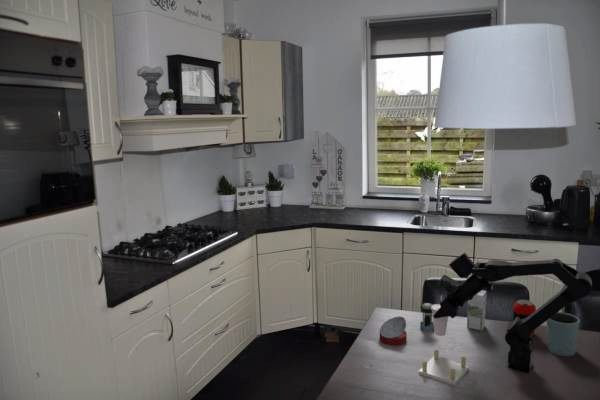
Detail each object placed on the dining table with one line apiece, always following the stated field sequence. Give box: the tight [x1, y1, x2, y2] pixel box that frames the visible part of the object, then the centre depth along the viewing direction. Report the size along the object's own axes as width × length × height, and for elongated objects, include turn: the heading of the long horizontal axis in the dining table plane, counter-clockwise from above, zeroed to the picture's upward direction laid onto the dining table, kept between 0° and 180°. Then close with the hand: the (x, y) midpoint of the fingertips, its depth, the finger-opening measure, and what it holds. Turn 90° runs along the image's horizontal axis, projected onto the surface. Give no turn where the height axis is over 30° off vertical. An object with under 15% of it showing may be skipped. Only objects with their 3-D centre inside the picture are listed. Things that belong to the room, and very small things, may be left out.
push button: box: [419, 302, 434, 331], centre depth 192 cm, size 7×5×10 cm
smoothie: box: [431, 295, 449, 337], centre depth 174 cm, size 6×6×14 cm
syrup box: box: [466, 290, 487, 332], centre depth 193 cm, size 6×6×14 cm
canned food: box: [379, 316, 408, 347], centre depth 185 cm, size 11×10×10 cm
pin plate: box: [418, 349, 470, 386], centre depth 162 cm, size 12×12×4 cm
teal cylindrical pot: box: [546, 311, 580, 357], centre depth 173 cm, size 10×10×12 cm
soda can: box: [512, 299, 537, 338], centre depth 187 cm, size 8×8×12 cm
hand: (436, 313), depth 175 cm, fingers closed on smoothie, 6 cm apart
